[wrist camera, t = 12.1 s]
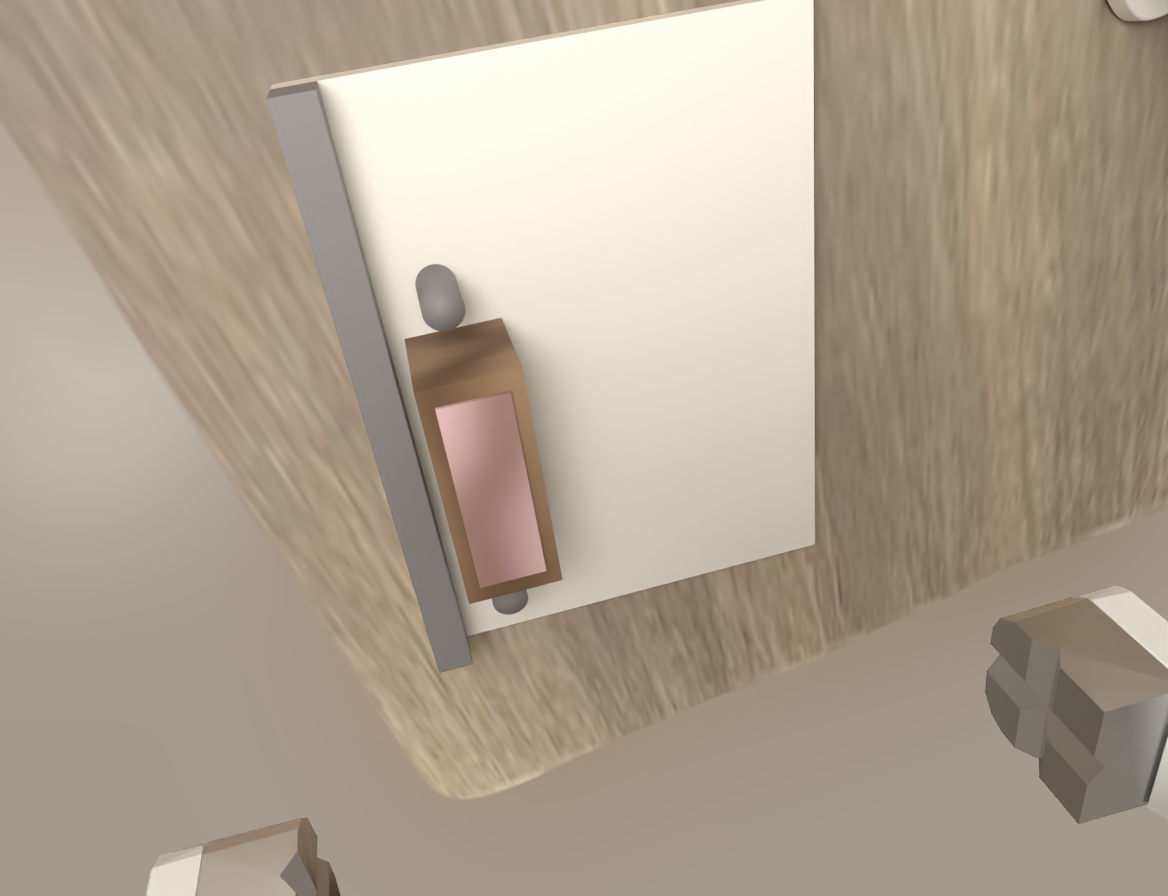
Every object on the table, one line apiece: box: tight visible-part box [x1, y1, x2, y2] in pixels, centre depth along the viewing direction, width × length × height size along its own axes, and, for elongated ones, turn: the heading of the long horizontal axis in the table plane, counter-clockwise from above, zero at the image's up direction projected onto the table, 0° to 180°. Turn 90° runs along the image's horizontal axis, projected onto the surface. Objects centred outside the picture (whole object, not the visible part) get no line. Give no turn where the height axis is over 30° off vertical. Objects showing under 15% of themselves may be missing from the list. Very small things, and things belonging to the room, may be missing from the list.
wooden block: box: [405, 318, 563, 604], centre depth 37 cm, size 4×10×5 cm, turn 8°
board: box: [267, 0, 815, 673], centre depth 39 cm, size 20×26×4 cm
